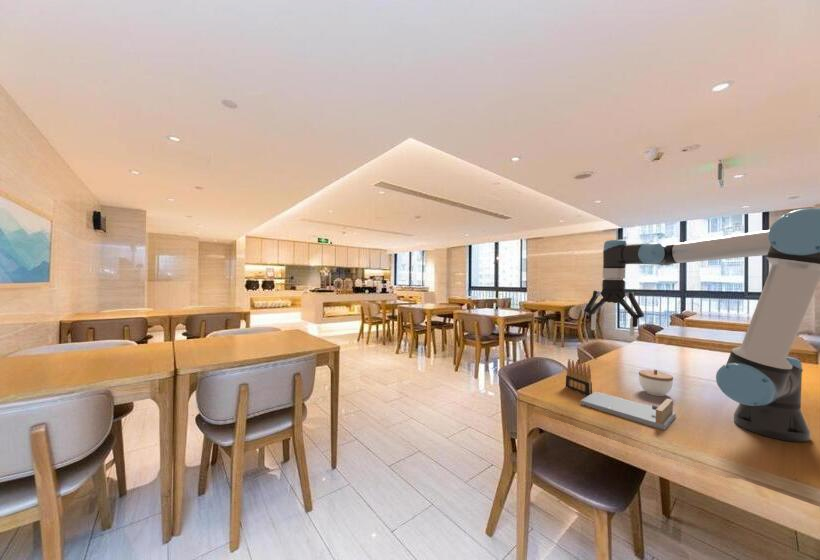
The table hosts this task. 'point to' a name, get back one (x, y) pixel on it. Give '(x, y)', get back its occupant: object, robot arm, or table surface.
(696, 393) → the table surface
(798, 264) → the robot arm
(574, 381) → the ammunition clip
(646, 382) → the lidded jar
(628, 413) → the wall board
